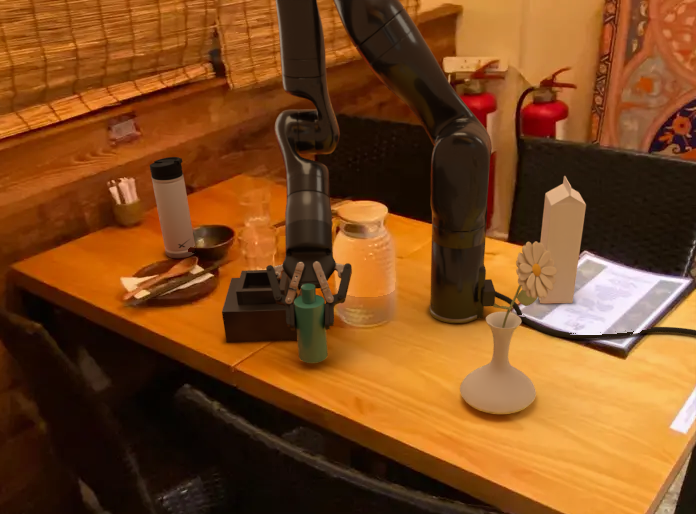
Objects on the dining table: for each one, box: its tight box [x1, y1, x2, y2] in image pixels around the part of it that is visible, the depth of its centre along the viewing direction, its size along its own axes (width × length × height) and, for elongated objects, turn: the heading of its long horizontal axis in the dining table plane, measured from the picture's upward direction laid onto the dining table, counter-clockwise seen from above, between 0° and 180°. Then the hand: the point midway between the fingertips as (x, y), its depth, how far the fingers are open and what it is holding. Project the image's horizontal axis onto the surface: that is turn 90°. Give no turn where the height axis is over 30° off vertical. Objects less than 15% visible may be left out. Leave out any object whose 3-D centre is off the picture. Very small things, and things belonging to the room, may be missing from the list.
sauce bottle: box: [294, 284, 329, 364], centre depth 124 cm, size 5×5×12 cm
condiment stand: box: [221, 269, 302, 343], centre depth 137 cm, size 13×13×8 cm
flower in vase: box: [459, 241, 557, 415], centre depth 112 cm, size 13×11×25 cm
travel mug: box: [149, 156, 196, 259], centre depth 160 cm, size 6×7×20 cm
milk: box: [537, 175, 587, 304], centre depth 140 cm, size 6×6×22 cm
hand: (310, 328), depth 123 cm, fingers closed on sauce bottle, 5 cm apart
